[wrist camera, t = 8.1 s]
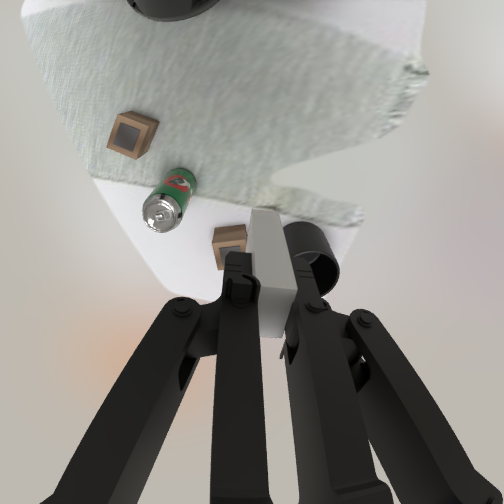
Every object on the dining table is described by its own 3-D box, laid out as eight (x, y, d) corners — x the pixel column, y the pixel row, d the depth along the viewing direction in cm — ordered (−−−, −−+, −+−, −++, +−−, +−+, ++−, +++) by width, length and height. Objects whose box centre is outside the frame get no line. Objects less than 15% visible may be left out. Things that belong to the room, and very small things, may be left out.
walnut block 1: (131, 110, 34) (117, 114, 30) (159, 121, 36) (148, 126, 31) (120, 140, 37) (105, 147, 32) (147, 151, 38) (135, 160, 34)
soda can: (161, 171, 40) (133, 201, 30) (192, 164, 39) (173, 192, 29) (170, 201, 42) (147, 239, 32) (200, 194, 42) (185, 231, 32)
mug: (282, 283, 52) (288, 318, 44) (265, 229, 46) (269, 260, 38) (330, 271, 51) (343, 303, 43) (320, 214, 44) (336, 243, 37)
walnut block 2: (215, 227, 45) (211, 244, 41) (245, 224, 45) (245, 240, 41) (220, 253, 48) (218, 271, 44) (249, 249, 48) (249, 267, 43)
